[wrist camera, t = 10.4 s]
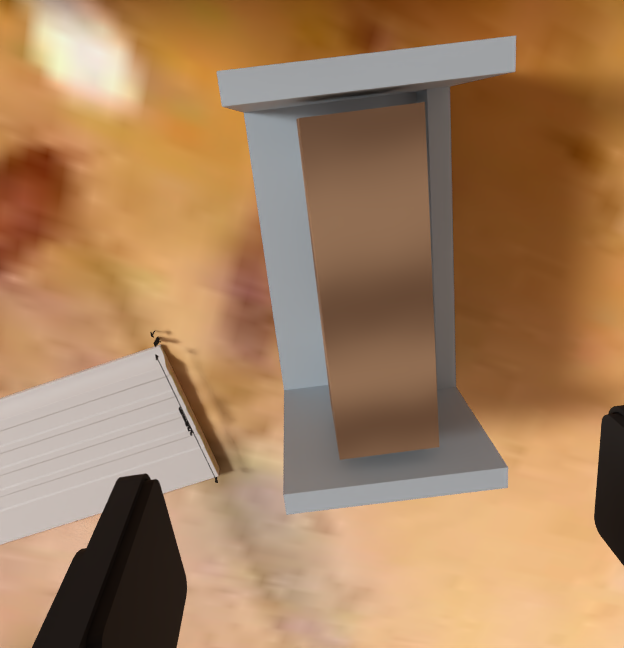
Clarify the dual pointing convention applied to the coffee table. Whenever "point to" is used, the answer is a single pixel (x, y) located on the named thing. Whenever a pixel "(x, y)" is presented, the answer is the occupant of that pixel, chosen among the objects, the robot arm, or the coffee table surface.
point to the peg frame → (299, 275)
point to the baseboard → (95, 441)
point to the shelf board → (373, 275)
